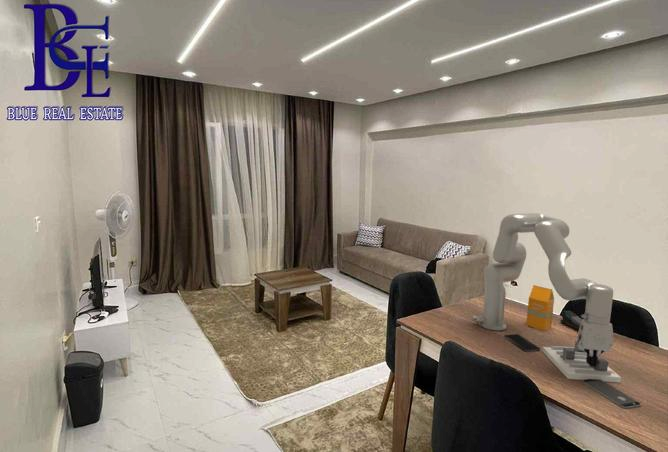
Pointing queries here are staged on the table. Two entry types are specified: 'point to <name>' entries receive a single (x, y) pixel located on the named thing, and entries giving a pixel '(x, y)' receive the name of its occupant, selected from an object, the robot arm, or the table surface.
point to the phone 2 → (611, 393)
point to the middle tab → (568, 353)
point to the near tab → (601, 365)
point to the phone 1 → (522, 343)
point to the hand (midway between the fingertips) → (591, 364)
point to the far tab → (577, 348)
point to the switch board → (578, 366)
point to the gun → (571, 319)
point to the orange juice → (540, 308)
